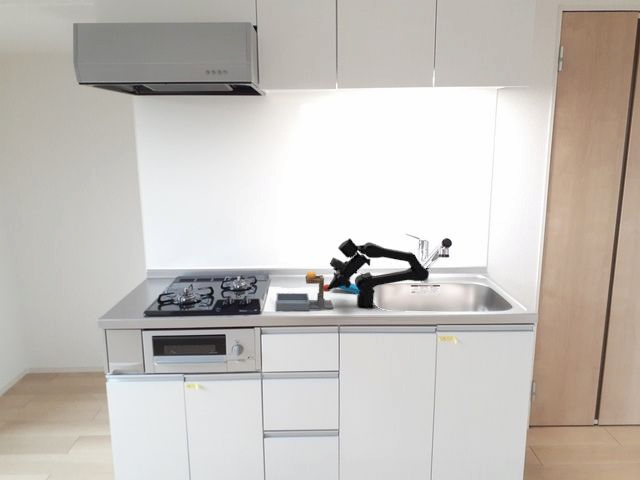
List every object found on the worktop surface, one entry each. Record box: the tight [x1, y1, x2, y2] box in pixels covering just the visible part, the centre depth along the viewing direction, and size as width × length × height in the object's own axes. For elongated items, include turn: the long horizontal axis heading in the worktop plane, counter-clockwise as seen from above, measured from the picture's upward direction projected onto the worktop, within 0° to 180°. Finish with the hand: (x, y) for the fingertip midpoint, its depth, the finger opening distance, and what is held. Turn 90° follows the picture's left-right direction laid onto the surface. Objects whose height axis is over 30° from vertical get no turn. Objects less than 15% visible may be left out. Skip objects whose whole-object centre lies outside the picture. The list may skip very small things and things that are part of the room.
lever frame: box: [309, 292, 334, 311], centre depth 204 cm, size 10×10×4 cm
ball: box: [306, 270, 317, 279], centre depth 201 cm, size 4×4×4 cm
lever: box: [324, 282, 360, 295], centre depth 227 cm, size 7×7×18 cm
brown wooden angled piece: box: [305, 274, 325, 298], centre depth 203 cm, size 8×7×11 cm
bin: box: [275, 292, 310, 312], centre depth 203 cm, size 14×14×4 cm
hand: (327, 289), depth 203 cm, fingers closed
